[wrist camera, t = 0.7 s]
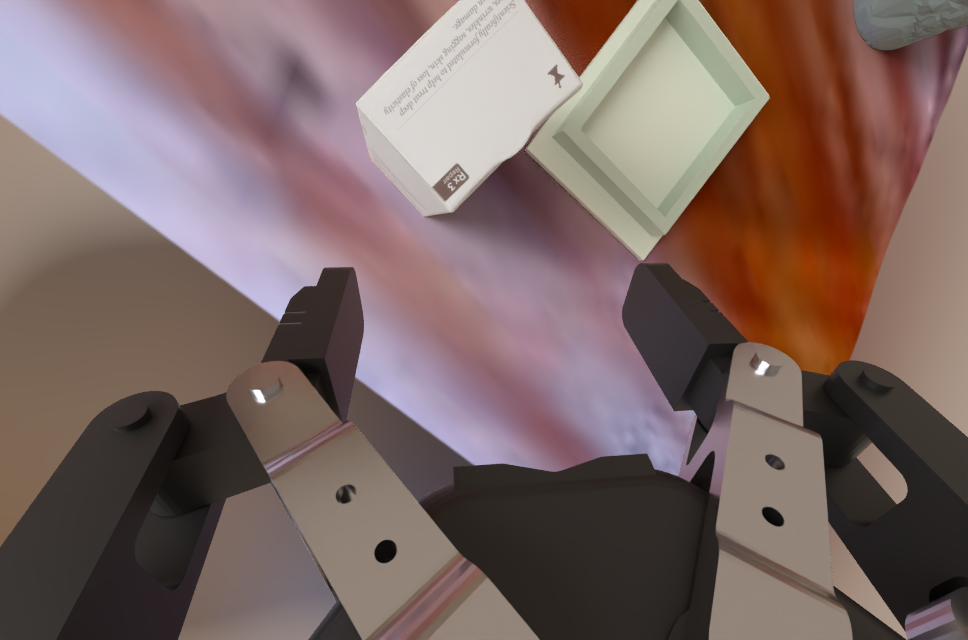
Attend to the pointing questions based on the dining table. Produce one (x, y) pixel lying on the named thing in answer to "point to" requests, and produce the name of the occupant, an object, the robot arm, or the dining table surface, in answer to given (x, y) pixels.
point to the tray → (650, 120)
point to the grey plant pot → (907, 20)
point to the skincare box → (464, 101)
